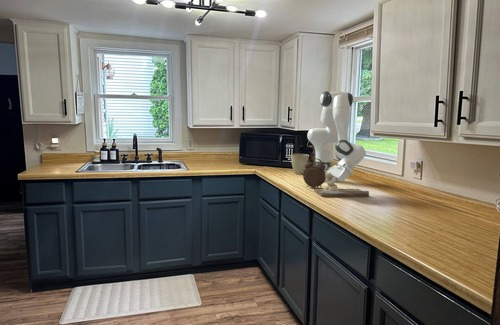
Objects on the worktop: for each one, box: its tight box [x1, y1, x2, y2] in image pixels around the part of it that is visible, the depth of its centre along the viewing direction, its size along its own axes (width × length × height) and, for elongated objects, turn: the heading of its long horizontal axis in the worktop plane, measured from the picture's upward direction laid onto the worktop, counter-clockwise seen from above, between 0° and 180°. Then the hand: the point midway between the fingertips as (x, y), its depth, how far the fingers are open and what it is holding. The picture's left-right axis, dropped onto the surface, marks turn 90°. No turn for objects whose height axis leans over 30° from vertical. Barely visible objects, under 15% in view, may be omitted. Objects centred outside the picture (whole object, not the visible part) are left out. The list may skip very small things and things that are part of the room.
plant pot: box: [290, 153, 310, 175], centre depth 289 cm, size 15×15×16 cm
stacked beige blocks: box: [325, 172, 339, 191], centre depth 215 cm, size 6×5×11 cm
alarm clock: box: [302, 157, 326, 189], centre depth 234 cm, size 15×7×20 cm, turn 53°
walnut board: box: [313, 188, 370, 198], centre depth 218 cm, size 14×30×4 cm, turn 99°
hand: (327, 182), depth 215 cm, fingers closed on stacked beige blocks, 3 cm apart
